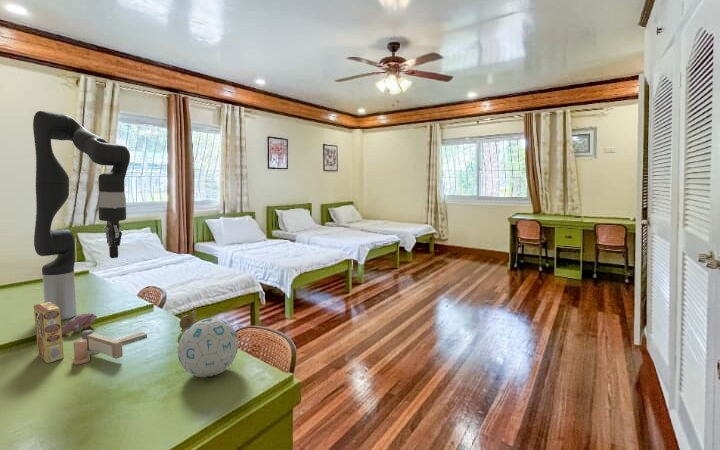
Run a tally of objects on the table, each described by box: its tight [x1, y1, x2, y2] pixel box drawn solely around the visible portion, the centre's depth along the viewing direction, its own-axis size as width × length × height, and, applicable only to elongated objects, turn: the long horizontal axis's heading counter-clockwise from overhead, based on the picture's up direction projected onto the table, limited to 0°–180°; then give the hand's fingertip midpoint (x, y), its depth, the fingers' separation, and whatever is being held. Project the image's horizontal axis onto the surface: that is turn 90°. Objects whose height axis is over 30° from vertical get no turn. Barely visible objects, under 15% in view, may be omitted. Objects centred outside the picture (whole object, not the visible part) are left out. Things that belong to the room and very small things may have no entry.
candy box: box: [33, 302, 65, 364], centre depth 107 cm, size 9×4×15 cm, turn 54°
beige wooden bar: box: [81, 329, 124, 360], centre depth 108 cm, size 16×3×5 cm, turn 66°
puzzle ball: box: [177, 317, 239, 378], centre depth 99 cm, size 15×15×15 cm
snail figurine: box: [177, 306, 197, 345], centre depth 116 cm, size 5×6×12 cm
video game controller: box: [61, 312, 97, 336], centre depth 127 cm, size 10×5×7 cm, turn 169°
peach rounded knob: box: [72, 338, 91, 366], centre depth 105 cm, size 4×4×6 cm
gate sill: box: [87, 330, 148, 356], centre depth 117 cm, size 4×18×1 cm, turn 146°
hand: (113, 257), depth 122 cm, fingers closed
